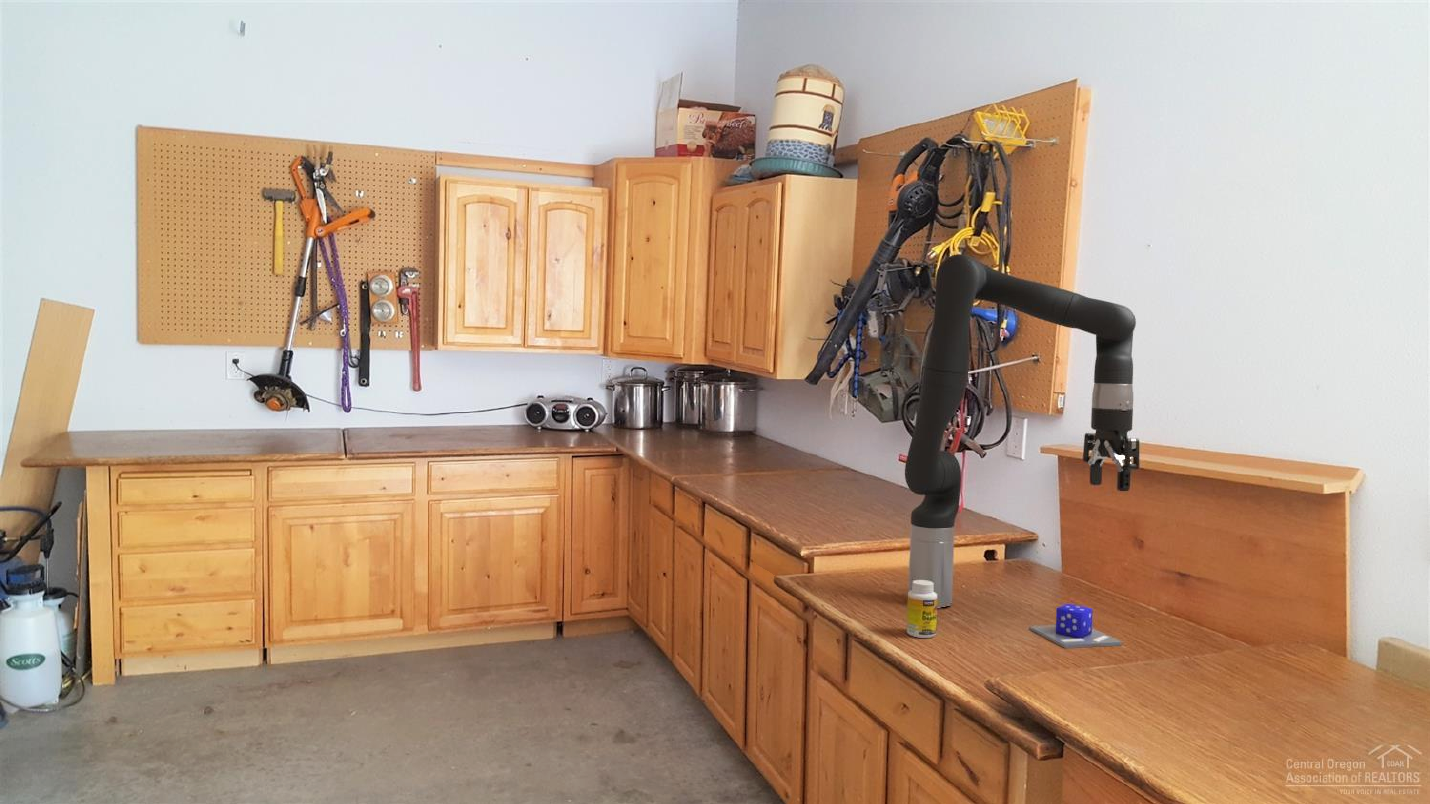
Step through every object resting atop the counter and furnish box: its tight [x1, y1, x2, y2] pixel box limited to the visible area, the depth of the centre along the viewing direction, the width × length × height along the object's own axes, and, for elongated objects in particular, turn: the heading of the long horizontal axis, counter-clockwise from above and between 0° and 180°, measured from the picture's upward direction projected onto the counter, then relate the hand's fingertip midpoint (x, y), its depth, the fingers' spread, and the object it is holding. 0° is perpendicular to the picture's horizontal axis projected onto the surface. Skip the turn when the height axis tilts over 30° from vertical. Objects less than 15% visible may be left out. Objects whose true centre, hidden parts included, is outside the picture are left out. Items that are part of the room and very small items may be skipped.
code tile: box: [1028, 624, 1123, 649], centre depth 174 cm, size 12×12×1 cm
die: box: [1055, 603, 1094, 639], centre depth 174 cm, size 5×5×5 cm
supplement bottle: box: [906, 580, 938, 639], centre depth 174 cm, size 6×6×10 cm
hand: (1109, 487), depth 180 cm, fingers open, 8 cm apart
